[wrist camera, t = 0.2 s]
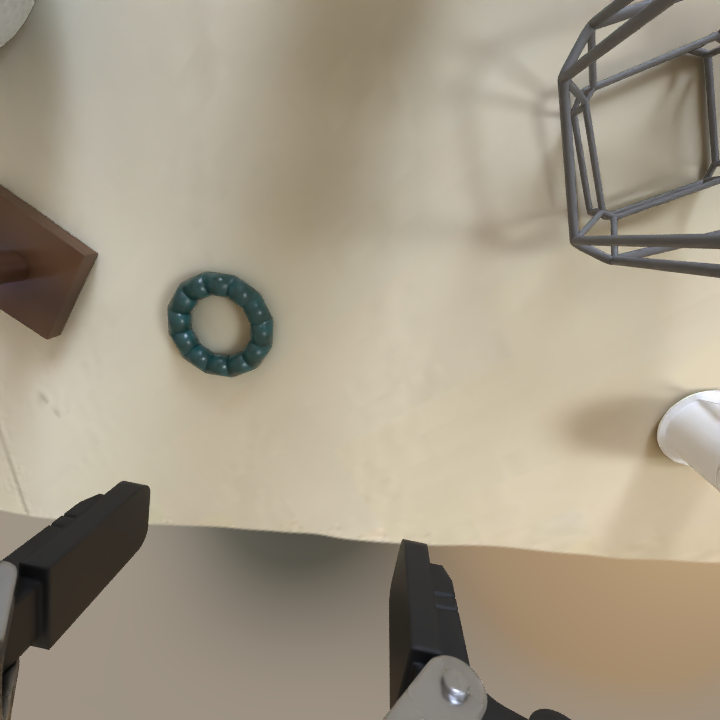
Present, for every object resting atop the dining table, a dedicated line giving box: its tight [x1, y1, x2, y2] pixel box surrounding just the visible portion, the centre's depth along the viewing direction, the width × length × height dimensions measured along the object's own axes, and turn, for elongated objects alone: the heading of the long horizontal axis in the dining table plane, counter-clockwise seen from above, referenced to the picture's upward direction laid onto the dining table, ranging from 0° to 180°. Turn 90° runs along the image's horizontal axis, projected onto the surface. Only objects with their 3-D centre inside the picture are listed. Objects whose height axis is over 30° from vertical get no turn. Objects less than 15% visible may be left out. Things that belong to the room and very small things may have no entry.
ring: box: [167, 272, 273, 377], centre depth 33 cm, size 9×9×2 cm
